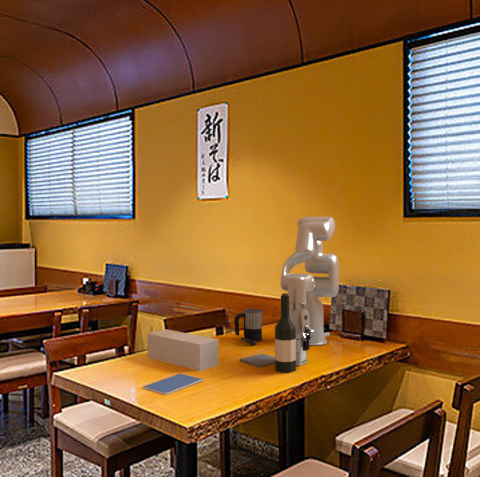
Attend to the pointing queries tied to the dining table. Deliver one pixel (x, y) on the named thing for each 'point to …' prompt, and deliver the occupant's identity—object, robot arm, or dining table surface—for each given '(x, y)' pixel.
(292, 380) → the dining table surface
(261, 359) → the mat
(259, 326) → the milk frother
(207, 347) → the stack of papers
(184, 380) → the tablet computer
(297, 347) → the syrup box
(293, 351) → the wine bottle
